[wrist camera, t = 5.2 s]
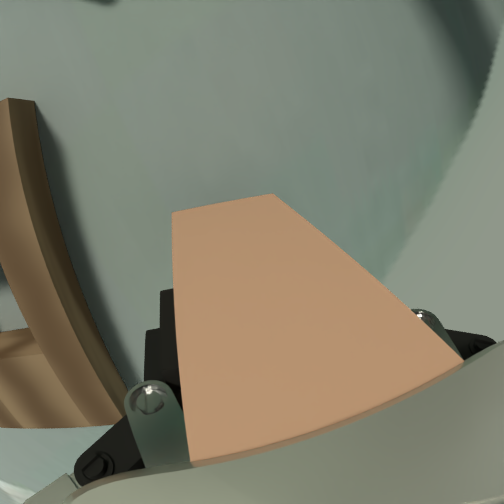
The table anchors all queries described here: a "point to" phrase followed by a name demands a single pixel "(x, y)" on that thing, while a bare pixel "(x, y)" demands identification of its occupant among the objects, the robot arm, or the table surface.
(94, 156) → the table surface
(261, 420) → the square peg
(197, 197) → the table surface
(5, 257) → the wooden peg hole block
